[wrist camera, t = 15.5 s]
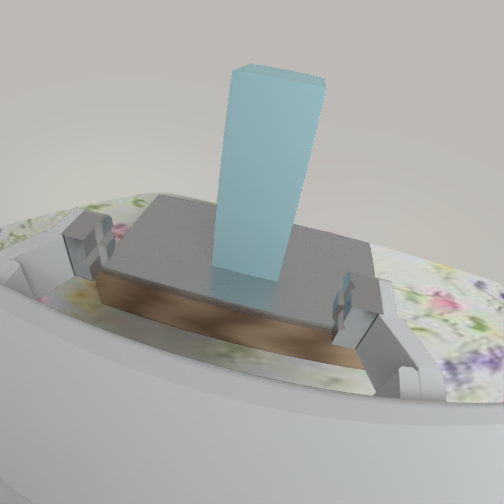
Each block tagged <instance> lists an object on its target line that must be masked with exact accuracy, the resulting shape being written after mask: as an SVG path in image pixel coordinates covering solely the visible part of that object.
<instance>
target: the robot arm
mask: <svg viewBox="0 0 504 504" xmlns="http://www.w3.org/2000/svg"><path fill="white" fill-rule="evenodd" d="M112 226H113V223H112V218H111V217H110V216H109V215H105V214H101V213H97V212H93V211H90V210H85V209H81V208H74V209H73V210H71V211H70V212H69V213H68V214H67V215H66V216H65V217H64V218H63V219H62V220H61V221H60V222H59V223H58V224H57V225H56V226H55V227H54V228H53V229H52V230H50V231H45V232H42V233H40V234H37V235H35V236H32V237H30V238H28V239H25V240H23V241H20V242H18V243H16V244H13V245H11V246H9V247H7V248H4V249H2V250H0V504H504V403H457V402H446V394H445V387H444V380H443V374H442V370H441V368H440V367H439V366H438V364H437V363H436V362H435V360H434V359H433V358H432V356H431V355H430V354H429V352H428V351H427V350H426V349H425V347H424V346H423V345H422V343H421V342H420V341H419V339H418V338H417V337H416V336H415V334H414V333H413V332H412V331H411V329H410V328H409V327H408V326H407V324H406V323H405V322H404V321H403V319H401V318H398V313H397V307H396V301H395V296H394V290H393V285H392V282H391V281H389V280H385V279H380V278H373V277H369V276H365V275H360V274H356V273H352V272H347V274H346V275H345V277H344V279H343V288H341V289H340V290H338V293H337V295H336V297H335V301H334V304H333V310H332V318H333V319H334V321H335V323H334V325H333V327H332V337H331V344H333V345H337V346H342V347H346V348H351V349H356V350H355V352H356V354H357V355H358V357H359V359H360V361H361V363H362V365H363V367H364V369H365V371H366V373H367V375H368V377H369V379H370V381H371V382H372V384H373V386H374V388H375V390H376V393H375V394H374V395H373V396H369V395H361V394H354V393H347V392H340V391H334V390H327V389H321V388H316V387H310V386H304V385H299V384H294V383H289V382H284V381H279V380H274V379H270V378H265V377H260V376H256V375H252V374H247V373H243V372H239V371H235V370H231V369H227V368H223V367H219V366H216V365H212V364H208V363H205V362H201V361H197V360H194V359H191V358H187V357H184V356H180V355H177V354H174V353H171V352H167V351H164V350H161V349H158V348H155V347H152V346H149V345H146V344H143V343H140V342H137V341H134V340H131V339H129V338H126V337H123V336H120V335H118V334H115V333H112V332H109V331H107V330H104V329H102V328H99V327H96V326H94V325H91V324H89V323H86V322H84V321H81V320H79V319H76V318H74V317H72V316H69V315H67V314H65V313H62V312H60V311H58V310H55V309H53V308H51V307H49V306H46V305H44V304H42V303H40V302H38V301H37V300H38V299H40V298H41V297H43V296H44V295H46V294H47V293H49V292H51V291H52V290H54V289H55V288H57V287H59V286H60V285H62V284H63V283H65V282H67V281H68V280H70V279H71V278H73V277H74V275H75V276H78V277H81V278H84V279H88V280H91V281H93V280H94V279H95V278H96V276H97V275H98V274H99V272H100V271H101V270H102V263H104V262H107V261H108V260H109V259H110V258H111V256H112V255H113V252H114V249H115V236H114V234H113V233H112V232H111V230H110V229H111V228H112Z"/></svg>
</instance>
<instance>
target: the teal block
mask: <svg viewBox="0 0 504 504" xmlns="http://www.w3.org/2000/svg"><path fill="white" fill-rule="evenodd" d="M325 90H326V85H325V79H324V78H321V77H317V76H313V75H308V74H304V73H299V72H294V71H289V70H284V69H279V68H273V67H268V66H261V65H255V64H249V65H247V66H243V67H241V68H238V69H235V70H233V71H232V75H231V84H230V91H229V98H228V107H227V115H226V123H225V132H224V141H223V150H222V159H221V168H220V179H219V189H218V199H217V209H216V220H215V232H214V244H213V257H212V266H215V267H219V268H223V269H227V270H231V271H235V272H239V273H243V274H247V275H252V276H256V277H260V278H264V279H268V280H272V281H278V277H279V274H280V270H281V266H282V263H283V259H284V255H285V252H286V248H287V244H288V240H289V237H290V233H291V229H292V225H293V222H294V218H295V214H296V210H297V206H298V202H299V198H300V194H301V190H302V186H303V182H304V179H305V174H306V171H307V166H308V162H309V158H310V154H311V150H312V146H313V142H314V138H315V133H316V129H317V125H318V121H319V116H320V112H321V108H322V103H323V99H324V95H325Z"/></svg>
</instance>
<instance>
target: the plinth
mask: <svg viewBox="0 0 504 504" xmlns="http://www.w3.org/2000/svg"><path fill="white" fill-rule="evenodd" d="M216 209H217V206H212V205H208V204H203V203H198V202H194V201H189V200H184V199H179V198H174V197H169V196H164V195H160V194H159V195H158V197H157V198H156V199H155V200H154V201H153V202H152V203H151V205H150V206H149V207H148V208H147V209H146V210H145V211H144V213H143V214H142V215H141V216H140V217H139V219H138V220H137V221H136V222H135V223H134V225H133V226H132V227H131V228H130V229H129V231H128V232H127V233H126V234H125V236H124V237H123V238H122V239H121V240H120V242H119V243H118V244H117V245H116V247H115V249H114V252H113V255H112V256H111V258H110V259H109V260H108V261H107V262H104V263H102V270H101V271H100V272H99V274H98V275H97V276H96V278H95V280H96V284H97V287H98V291H99V294H100V298H101V301H102V303H103V304H106V305H109V306H112V307H115V308H118V309H121V310H124V311H127V312H130V313H133V314H136V315H139V316H142V317H145V318H148V319H151V320H154V321H158V322H161V323H164V324H167V325H171V326H174V327H177V328H181V329H184V330H188V331H191V332H195V333H198V334H202V335H205V336H209V337H213V338H217V339H220V340H224V341H228V342H232V343H236V344H240V345H244V346H248V347H252V348H256V349H261V350H265V351H269V352H274V353H278V354H283V355H287V356H292V357H297V358H302V359H307V360H312V361H317V362H322V363H327V364H333V365H339V366H344V367H350V368H356V369H362V370H365V369H364V367H363V365H362V363H361V361H360V359H359V357H358V355H357V354H356V352H355V350H356V349H351V348H346V347H342V346H337V345H333V344H331V337H332V327H333V325H334V323H335V321H334V319H333V318H332V310H333V304H334V301H335V297H336V295H337V293H338V290H340V289H341V288H343V279H344V277H345V275H346V274H347V272H352V273H356V274H360V275H365V276H369V277H373V278H375V274H374V267H373V260H372V254H371V247H370V245H369V243H368V242H364V241H360V240H356V239H352V238H348V237H344V236H340V235H336V234H332V233H328V232H324V231H320V230H316V229H312V228H308V227H304V226H300V225H296V224H293V225H292V229H291V233H290V237H289V240H288V244H287V248H286V252H285V255H284V259H283V263H282V266H281V270H280V274H279V277H278V281H272V280H268V279H264V278H260V277H256V276H252V275H247V274H243V273H239V272H235V271H231V270H227V269H223V268H219V267H215V266H212V257H213V244H214V232H215V220H216Z"/></svg>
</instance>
